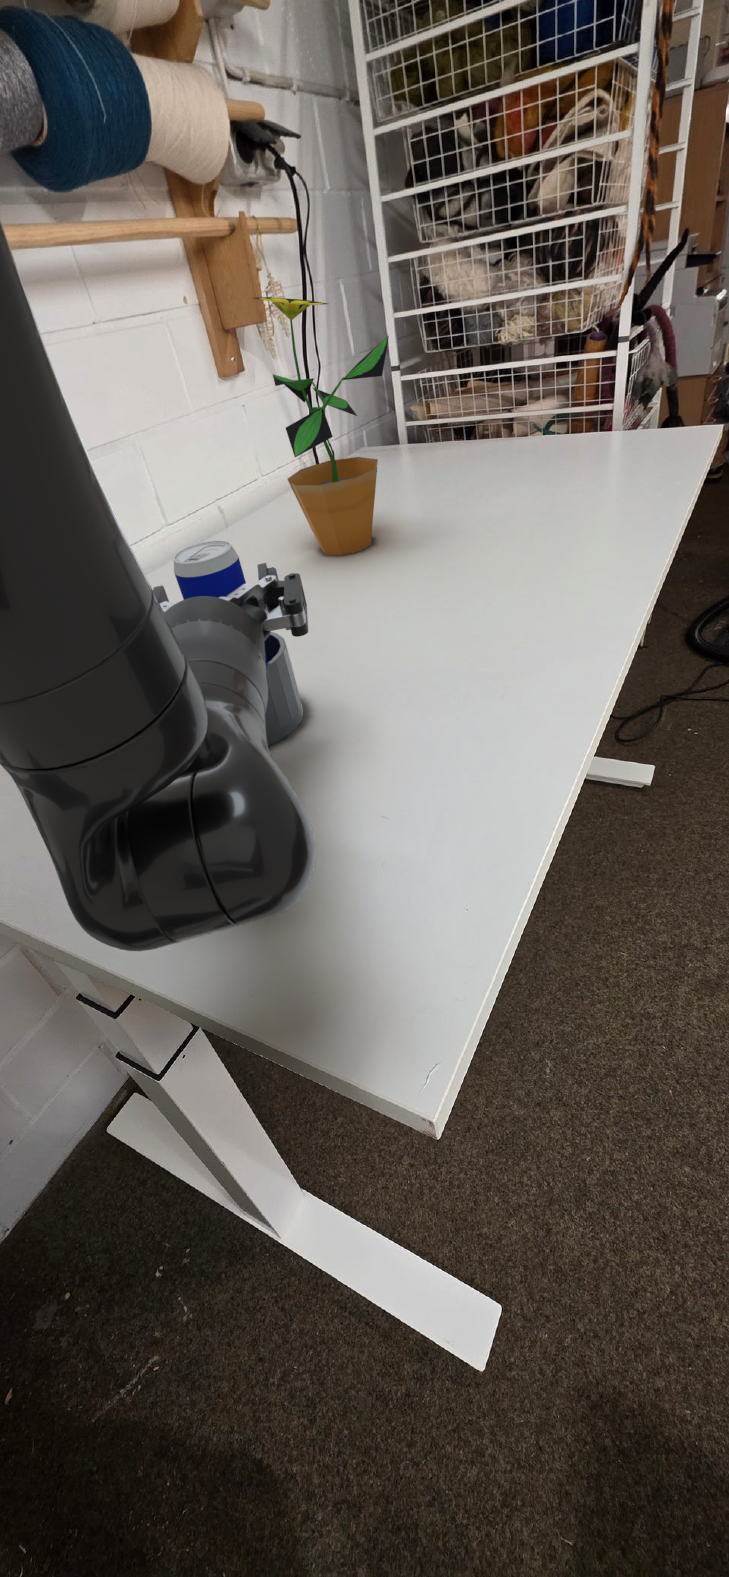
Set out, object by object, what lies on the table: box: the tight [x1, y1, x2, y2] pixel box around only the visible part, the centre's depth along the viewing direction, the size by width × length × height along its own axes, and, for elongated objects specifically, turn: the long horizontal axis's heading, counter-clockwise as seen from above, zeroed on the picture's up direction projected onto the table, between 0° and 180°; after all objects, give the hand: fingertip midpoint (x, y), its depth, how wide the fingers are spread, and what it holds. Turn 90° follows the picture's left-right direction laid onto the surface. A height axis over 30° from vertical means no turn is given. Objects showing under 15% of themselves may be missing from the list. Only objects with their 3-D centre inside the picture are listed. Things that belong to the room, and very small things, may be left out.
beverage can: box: [173, 540, 268, 663], centre depth 57 cm, size 5×5×15 cm
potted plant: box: [253, 296, 390, 556], centre depth 87 cm, size 18×19×30 cm
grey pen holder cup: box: [264, 631, 304, 746], centre depth 60 cm, size 9×9×7 cm
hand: (213, 586), depth 55 cm, fingers open, 8 cm apart
